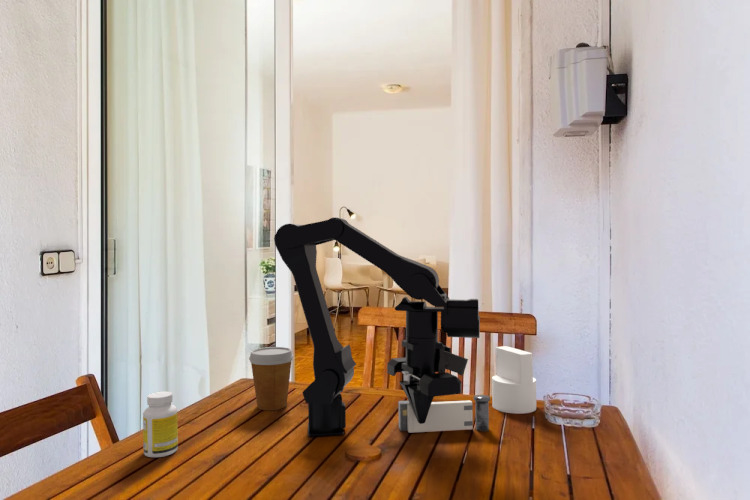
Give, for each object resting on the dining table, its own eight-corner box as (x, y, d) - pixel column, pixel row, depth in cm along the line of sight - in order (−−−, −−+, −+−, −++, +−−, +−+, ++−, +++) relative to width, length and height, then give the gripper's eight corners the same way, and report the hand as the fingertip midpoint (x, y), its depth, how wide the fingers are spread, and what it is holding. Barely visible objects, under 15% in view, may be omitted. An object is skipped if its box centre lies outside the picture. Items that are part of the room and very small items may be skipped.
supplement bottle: (184, 448, 92) (183, 391, 92) (162, 460, 87) (161, 400, 87) (159, 444, 94) (158, 389, 93) (136, 456, 88) (135, 397, 88)
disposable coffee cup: (258, 398, 120) (257, 346, 120) (299, 400, 119) (298, 346, 119) (242, 412, 111) (241, 355, 111) (286, 413, 110) (285, 355, 109)
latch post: (400, 431, 98) (400, 404, 98) (398, 427, 101) (398, 401, 101) (413, 431, 98) (413, 404, 98) (411, 426, 101) (410, 400, 101)
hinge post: (476, 432, 97) (476, 399, 97) (471, 426, 100) (471, 395, 100) (492, 431, 98) (492, 398, 98) (487, 425, 101) (486, 394, 101)
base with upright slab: (483, 403, 115) (483, 348, 115) (517, 398, 118) (517, 344, 118) (510, 416, 106) (509, 356, 106) (545, 409, 110) (545, 352, 110)
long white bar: (470, 426, 99) (470, 400, 99) (472, 429, 98) (472, 402, 98) (407, 430, 98) (407, 403, 98) (408, 432, 97) (408, 405, 97)
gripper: (489, 341, 89) (489, 434, 89) (437, 327, 107) (437, 404, 107) (429, 345, 85) (429, 442, 85) (386, 329, 103) (386, 410, 103)
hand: (421, 423), depth 95 cm, fingers closed
